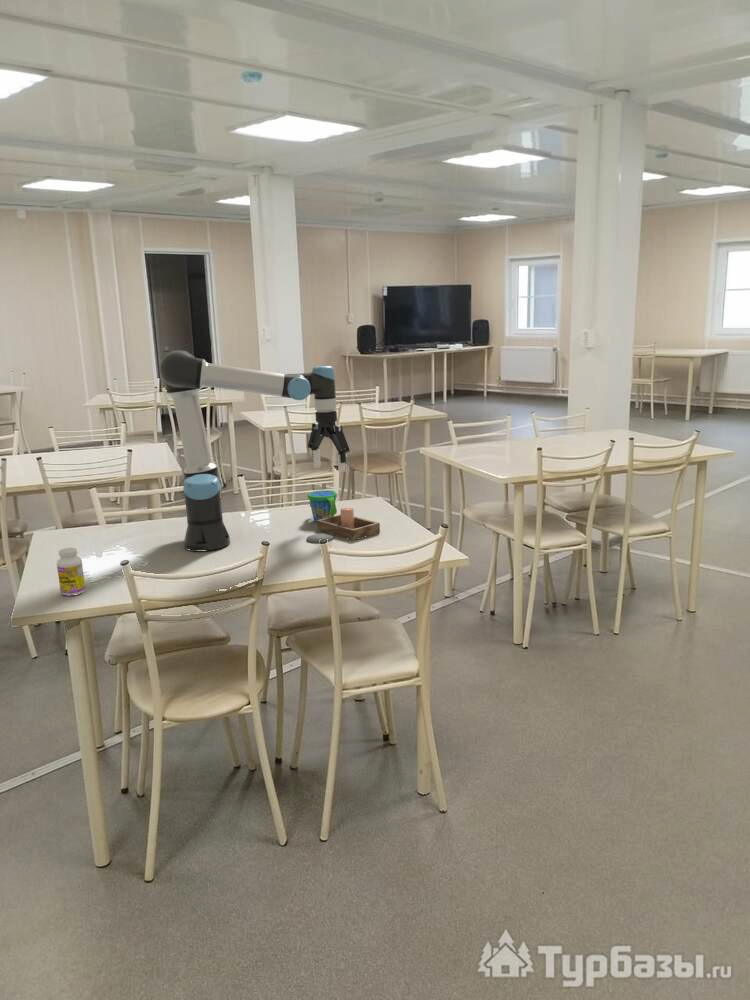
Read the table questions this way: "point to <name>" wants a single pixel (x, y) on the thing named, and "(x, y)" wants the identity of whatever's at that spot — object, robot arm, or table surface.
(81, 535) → the table surface
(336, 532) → the tray
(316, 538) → the slate coaster
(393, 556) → the table surface
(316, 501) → the snack cup
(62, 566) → the supplement bottle
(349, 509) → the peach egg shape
